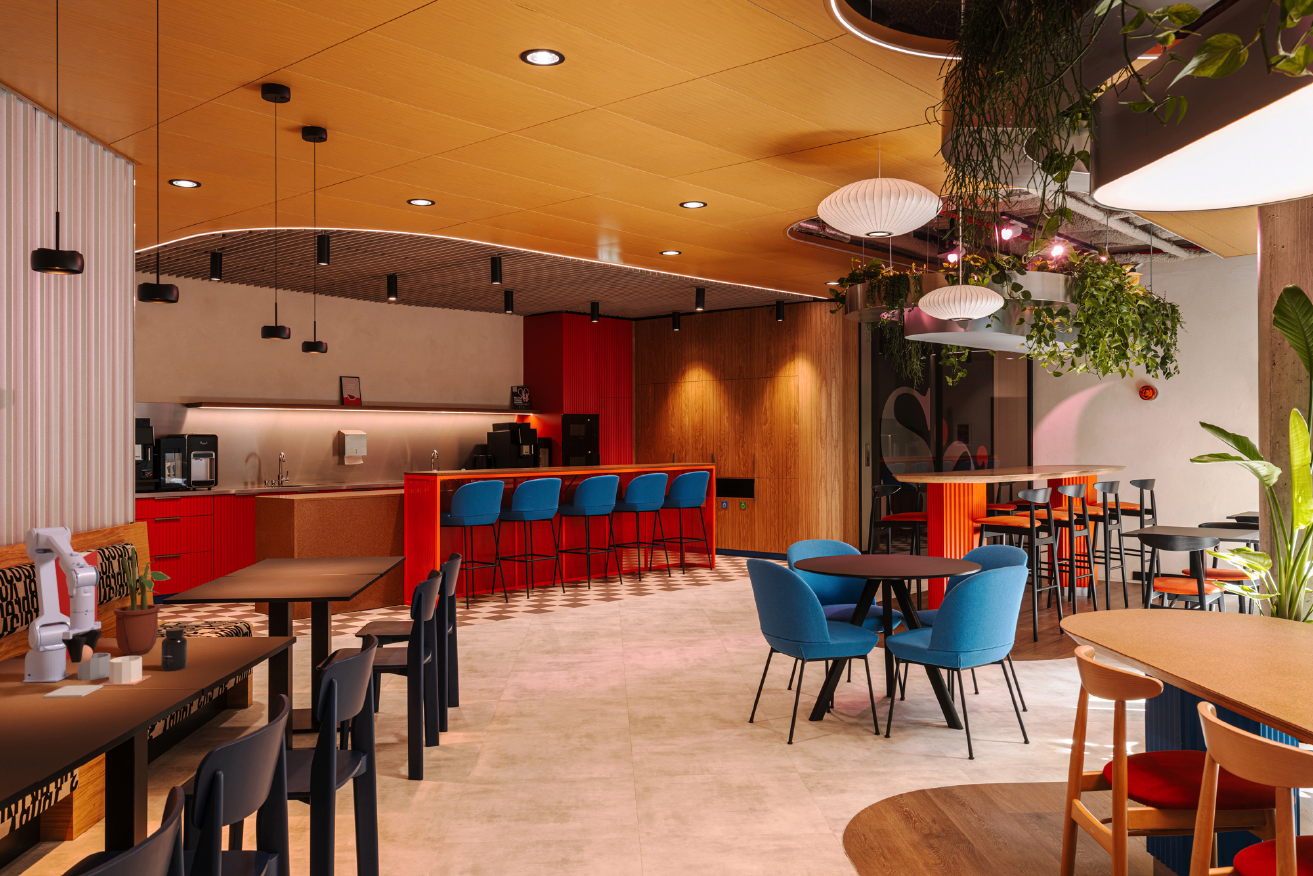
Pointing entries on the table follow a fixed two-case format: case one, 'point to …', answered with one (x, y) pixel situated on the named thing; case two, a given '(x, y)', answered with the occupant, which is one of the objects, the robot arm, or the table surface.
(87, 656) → the terracotta ball
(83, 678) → the grey faceted cup
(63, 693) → the ball mat
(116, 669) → the tube
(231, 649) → the table surface
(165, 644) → the supplement bottle
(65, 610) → the book
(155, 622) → the potted plant
